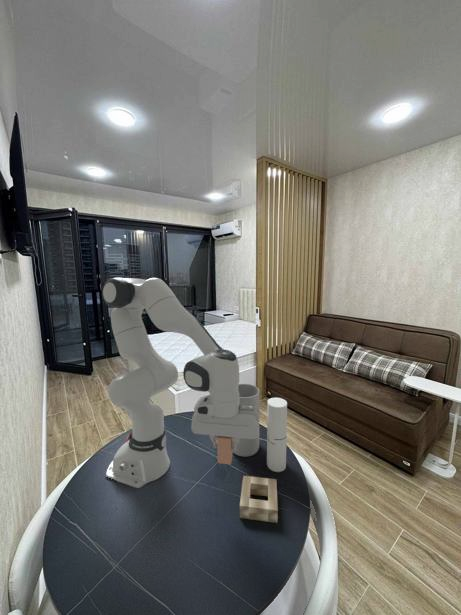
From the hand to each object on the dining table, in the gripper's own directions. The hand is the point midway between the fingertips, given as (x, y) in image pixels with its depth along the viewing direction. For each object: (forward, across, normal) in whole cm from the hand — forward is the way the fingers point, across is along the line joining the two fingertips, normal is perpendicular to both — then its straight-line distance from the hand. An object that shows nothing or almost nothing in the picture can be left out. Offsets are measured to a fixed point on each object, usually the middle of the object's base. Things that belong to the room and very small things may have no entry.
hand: (225, 447), depth 73 cm
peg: (+4, 0, 0) cm, 4 cm away
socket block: (+19, -10, -2) cm, 22 cm away
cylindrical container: (+19, -16, -19) cm, 32 cm away
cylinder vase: (+19, -3, -27) cm, 33 cm away
